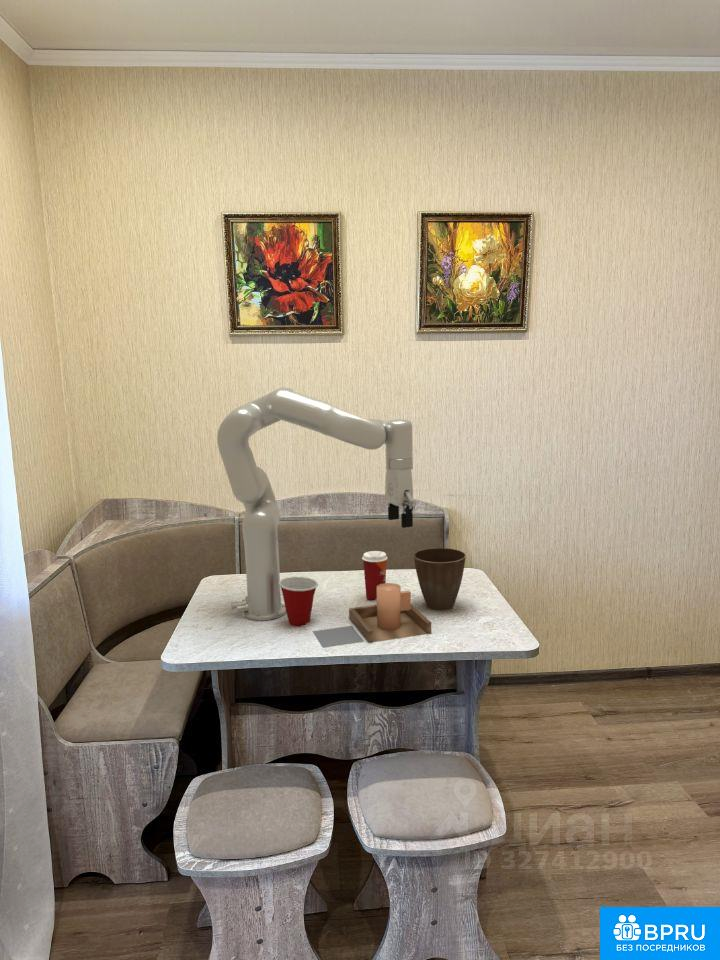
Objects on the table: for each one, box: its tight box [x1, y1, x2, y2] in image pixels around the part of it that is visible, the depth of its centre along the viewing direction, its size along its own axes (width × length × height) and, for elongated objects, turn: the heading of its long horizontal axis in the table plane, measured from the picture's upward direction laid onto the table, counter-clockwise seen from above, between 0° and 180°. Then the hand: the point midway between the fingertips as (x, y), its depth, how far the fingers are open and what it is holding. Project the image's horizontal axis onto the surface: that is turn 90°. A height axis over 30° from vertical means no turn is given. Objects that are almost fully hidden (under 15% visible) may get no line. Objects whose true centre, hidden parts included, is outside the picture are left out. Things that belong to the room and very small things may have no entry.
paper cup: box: [361, 550, 388, 602], centre depth 207 cm, size 8×8×14 cm
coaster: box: [312, 625, 365, 649], centre depth 179 cm, size 11×11×1 cm
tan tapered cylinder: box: [376, 582, 412, 630], centre depth 185 cm, size 9×6×11 cm
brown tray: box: [348, 604, 432, 644], centre depth 185 cm, size 17×17×4 cm
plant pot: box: [413, 547, 467, 612], centre depth 198 cm, size 15×15×16 cm
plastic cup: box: [279, 576, 319, 627], centre depth 189 cm, size 11×11×12 cm
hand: (400, 523), depth 194 cm, fingers open, 9 cm apart
